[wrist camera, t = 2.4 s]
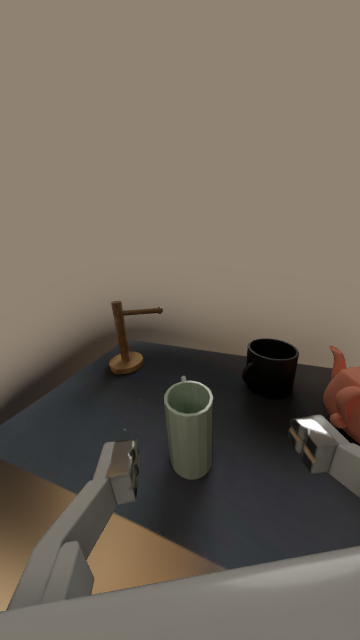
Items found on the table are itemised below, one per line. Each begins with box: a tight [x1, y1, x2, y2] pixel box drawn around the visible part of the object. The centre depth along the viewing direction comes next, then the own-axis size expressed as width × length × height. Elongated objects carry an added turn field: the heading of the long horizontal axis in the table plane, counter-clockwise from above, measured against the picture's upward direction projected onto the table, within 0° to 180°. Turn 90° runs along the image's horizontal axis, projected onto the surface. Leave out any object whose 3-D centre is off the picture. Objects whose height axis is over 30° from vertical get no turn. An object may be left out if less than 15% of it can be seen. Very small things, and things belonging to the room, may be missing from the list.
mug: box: [242, 339, 299, 399], centre depth 39 cm, size 9×12×9 cm
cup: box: [164, 376, 213, 480], centre depth 27 cm, size 10×6×11 cm, turn 5°
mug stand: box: [109, 301, 163, 374], centre depth 49 cm, size 16×9×18 cm, turn 95°
